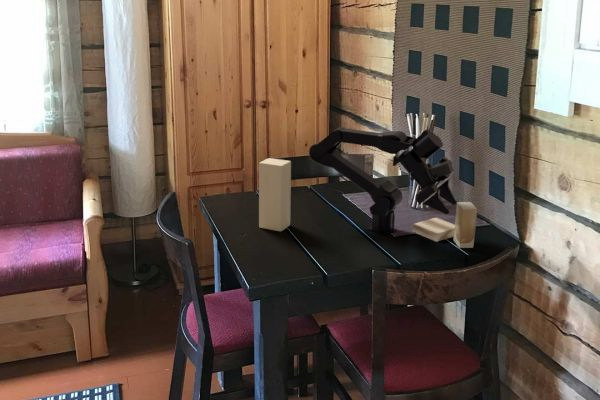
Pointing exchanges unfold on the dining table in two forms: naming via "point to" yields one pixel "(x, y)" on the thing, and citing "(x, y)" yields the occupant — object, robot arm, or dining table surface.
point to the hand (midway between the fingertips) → (451, 208)
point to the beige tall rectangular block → (274, 194)
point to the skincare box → (465, 224)
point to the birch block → (434, 229)
